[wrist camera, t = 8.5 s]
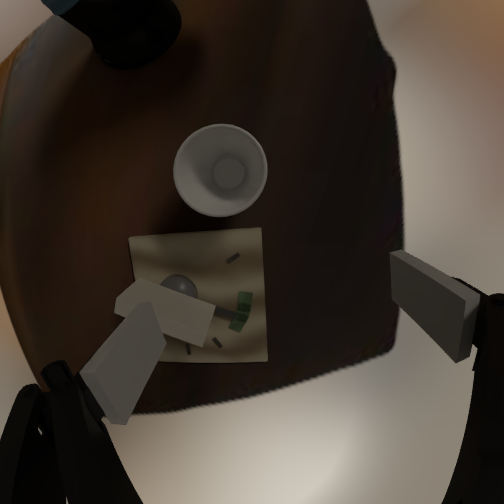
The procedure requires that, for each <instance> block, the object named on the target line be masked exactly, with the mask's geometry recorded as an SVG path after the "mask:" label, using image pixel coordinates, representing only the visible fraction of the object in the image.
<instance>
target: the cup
mask: <svg viewBox="0 0 504 504" xmlns="http://www.w3.org/2000/svg"><path fill="white" fill-rule="evenodd" d="M173 175H174V182H175V186H176V188H177V191H178V193H179V195H180V196H181V198H182V199H183V200H184V202H185V203H186V204H188V205H189V206H190V207H191V208H192V209H194V210H195V211H197V212H199V213H201V214H204V215H207V216H212V217H227V216H231V215H235V214H237V213H240V212H242V211H244V210H245V209H247V208H248V207H249V206H251V205H252V204H253V203H254V202H255V201H256V200H257V198H258V197H259V195H260V194H261V192H262V191H263V188H264V185H265V183H266V178H267V161H266V157H265V154H264V151H263V149H262V147H261V145H260V144H259V143H258V141H257V140H256V139H255V138H254V137H253V136H252V135H251V134H250V133H248V132H247V131H245V130H243V129H241V128H239V127H236V126H233V125H227V124H215V125H210V126H206V127H203V128H201V129H199V130H197V131H195V132H194V133H193V134H192V135H190V136H189V137H188V138H187V139H186V140H185V141H184V142H183V144H182V145H181V147H180V149H179V150H178V152H177V155H176V158H175V161H174V167H173Z"/></svg>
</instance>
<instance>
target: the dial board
mask: <svg viewBox="0 0 504 504" xmlns="http://www.w3.org/2000/svg"><path fill="white" fill-rule="evenodd" d="M129 245H130V252H131V258H132V265H133V271H134V276H135V281H136V280H138V279H139V278H143V279H145V280H148V281H150V282H153V283H156V284H158V285H160V284H161V283H162V282H163V280H164V279H165V278H167V277H168V276H170V275H175V274H179V275H183V276H186V277H187V278H189V279H190V280H191V281H192V282H193V283H194V284H195V286H196V288H197V292H198V298H197V299H199V300H202V301H205V302H207V303H210V304H213V305H216V306H219V307H222V308H225V309H228V310H231V311H234V312H237V317H236V319H233V318H230V317H227V316H224V315H221V314H218V313H215V312H214V313H213V316H212V320H211V323H210V326H209V329H208V332H207V335H206V338H205V341H204V344H203V347H200V346H197V345H194V344H191V343H189V342H186V341H183V340H180V339H178V338H175V337H172V336H170V335H167V334H164V333H163V336H164V338H165V341H166V343H167V344H166V346H165V348H164V350H163V352H162V353H161V355H160V357H159V359H158V361H165V362H194V363H233V362H262V361H268V356H267V334H266V312H265V292H264V273H263V254H262V235H261V228H244V229H228V230H213V231H198V232H184V233H171V234H158V235H146V236H134V237H130V238H129Z"/></svg>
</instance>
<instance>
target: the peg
mask: <svg viewBox="0 0 504 504" xmlns="http://www.w3.org/2000/svg"><path fill="white" fill-rule="evenodd" d="M197 298H198V292H197V288H196V286H195V284H194V283H193V282H192V281H191V280H190V279H189V278H187V277H186V276H183V275H179V274H175V275H170V276H168V277H167V278H165V279H164V280H163V282H162V283H161V284H160V285H158V284H156V283H153V282H150V281H148V280H145V279H143V278H139V279H138V280H136V281H135V282H134V283H133V284H132V285H131V286H130V287H128V288H127V289H126V290H125V291H124V292H123V293H122V294H120V295H119V296H118V297H117V299H116V305H115V312H114V313H116V314H119V315H121V316H123V317H125V318H126V317H127V316H128V315H129V314H130V313H131V311H132V310H133V309H134V308H135V307H136V306H137V305H138V304H139V303H143V302H149V301H151V303H152V306H153V309H154V312H155V315H156V317H157V320H158V323H159V325H160V328H161V331H162V333H164V334H167V335H170V336H172V337H175V338H178V339H180V340H183V341H186V342H189V343H191V344H194V345H197V346H200V347H203V344H204V341H205V338H206V335H207V332H208V329H209V326H210V323H211V320H212V316H213V313H214V312H215V313H218V314H221V315H224V316H227V317H230V318H233V319H236V317H237V312H234V311H231V310H228V309H225V308H222V307H219V306H216V305H213V304H210V303H207V302H205V301H202V300H199V299H197Z"/></svg>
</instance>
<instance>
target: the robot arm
mask: <svg viewBox="0 0 504 504" xmlns="http://www.w3.org/2000/svg"><path fill="white" fill-rule="evenodd" d="M41 1H42V3H43V4H44V5H46V6H47V7H48V8H49V9H50V10H51V11H52V13H53V14H55V15H57V16H60V17H61V18H63V19H64V20H65V21H67V22H68V23H70V24H71V25H73V26H74V27H75V28H77V29H78V30H80V31H81V32H82V33H84V34H85V35H87V36H88V37H89V38H90V39H91V42H92V44H93V47H94V49H95V52H96V54H97V56H98V57H99V58H100V60H102V61H103V62H104V63H106V64H107V65H108V66H110V67H112V68H115V69H133V68H137V67H140V66H143V65H145V64H147V63H149V62H151V61H153V60H154V59H156V58H157V57H159V56H160V55H161V54H163V53H164V52H165V51H166V50H167V49H168V48H169V47H170V46H171V45H172V44H173V42H174V41H175V39H176V38H177V36H178V34H179V31H180V28H181V22H182V21H181V15H180V12H179V10H178V8H177V7H176V5H175V4H174V3H173V2H172V1H171V0H41ZM390 265H391V285H392V300H393V301H394V302H396V303H397V304H398V305H399V306H400V307H401V308H402V309H403V310H404V311H405V312H406V313H407V314H408V315H409V316H410V317H411V318H412V319H413V320H414V321H415V322H416V323H417V324H418V325H419V326H420V327H421V328H422V329H423V330H424V331H425V332H426V333H427V334H428V335H429V336H430V337H431V338H432V339H433V340H434V341H435V342H436V343H437V344H438V345H439V346H440V347H441V348H442V349H443V350H444V351H445V353H447V355H449V357H450V358H451V359H452V360H453V361H454V362H455V363H458V362H460V361H462V360H464V359H466V358H468V357H469V356H470V353H471V348H472V344H473V345H475V347H477V348H478V349H477V354H476V358H475V362H474V365H473V369H472V371H475V373H474V381H473V389H472V396H471V403H470V408H469V414H468V420H467V424H466V429H465V433H464V437H463V441H462V445H461V449H460V453H459V457H458V460H457V463H456V466H455V469H454V472H453V476H452V478H451V481H450V485H449V487H448V489H447V492H446V495H445V497H444V499H443V502H442V504H504V294H501V293H496V294H492V295H490V296H488V295H486V294H485V293H483V292H481V291H480V290H478V289H476V288H475V287H473V286H471V285H469V284H467V283H466V282H464V281H463V280H461V279H458V278H454V277H450V276H448V275H446V274H445V273H443V272H441V271H439V270H438V269H436V268H434V267H432V266H430V265H429V264H427V263H425V262H423V261H422V260H420V259H418V258H416V257H414V256H412V255H410V254H409V253H407V252H405V251H403V250H399V251H394V252H390ZM166 344H167V343H166V341H165V338H164V336H163V333H162V331H161V328H160V325H159V323H158V320H157V317H156V315H155V312H154V309H153V306H152V303H151V301H149V302H143V303H139V304H138V305H137V306H136V307H135V308H134V309H133V310H132V311H131V313H130V314H129V315H128V316H127V317H126V318H125V319H124V321H123V322H122V323H121V324H120V325H119V326H118V327H117V328H116V330H115V331H114V332H113V333H112V334H111V335H110V337H109V338H108V339H107V340H106V341H105V342H104V344H103V345H102V346H101V347H100V348H99V349H98V350H97V351H96V352H95V353H94V354H93V355H92V356H91V357H90V360H88V361H87V362H86V364H85V365H84V366H83V367H82V368H81V369H80V371H79V372H78V373H77V374H76V375H75V377H74V376H73V374H72V372H71V371H70V369H69V367H68V365H67V363H66V362H65V361H63V360H58V361H55V362H52V363H50V364H48V365H47V366H46V367H44V368H43V370H42V371H41V376H42V378H43V379H44V381H45V383H46V384H47V386H48V388H49V389H50V392H44V393H43V392H42V390H41V389H40V387H39V386H38V384H29V385H26V386H24V387H23V388H22V389H21V390H20V391H19V393H18V394H17V397H16V399H15V402H14V404H13V406H12V409H11V412H10V414H9V417H8V419H7V422H6V425H5V427H4V431H3V434H2V436H1V439H0V504H66V497H67V501H68V504H143V502H142V501H141V499H140V497H139V495H138V494H137V492H136V490H135V488H134V486H133V485H132V483H131V481H130V479H129V477H128V475H127V473H126V471H125V469H124V467H123V465H122V463H121V461H120V459H119V456H118V454H117V452H116V450H115V448H114V445H113V443H112V441H111V438H110V436H109V433H108V431H107V428H106V426H105V424H104V423H103V422H102V420H101V419H102V417H103V416H104V414H105V415H106V417H107V418H108V419H109V421H110V422H111V423H112V424H121V425H126V423H127V421H128V419H129V417H130V415H131V413H132V411H133V409H134V407H135V405H136V403H137V401H138V399H139V397H140V395H141V393H142V391H143V389H144V387H145V385H146V383H147V381H148V379H149V377H150V375H151V373H152V371H153V369H154V367H155V365H156V363H157V361H158V359H159V357H160V355H161V353H162V352H163V350H164V348H165V346H166ZM38 428H39V429H40V430H41V432H42V435H41V434H40V432H39V430H38Z"/></svg>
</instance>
